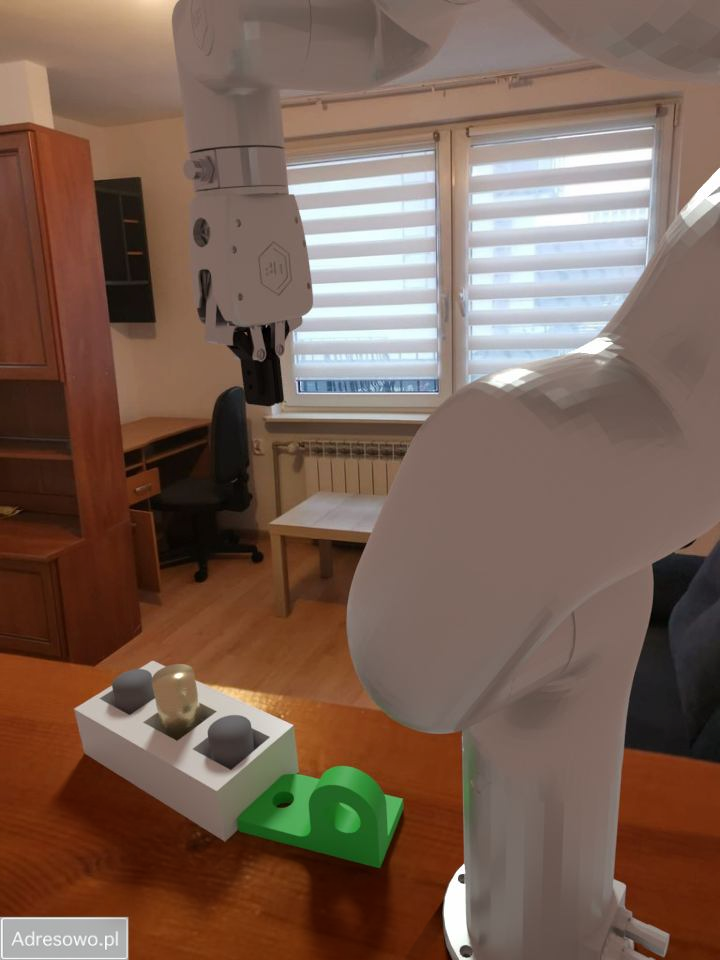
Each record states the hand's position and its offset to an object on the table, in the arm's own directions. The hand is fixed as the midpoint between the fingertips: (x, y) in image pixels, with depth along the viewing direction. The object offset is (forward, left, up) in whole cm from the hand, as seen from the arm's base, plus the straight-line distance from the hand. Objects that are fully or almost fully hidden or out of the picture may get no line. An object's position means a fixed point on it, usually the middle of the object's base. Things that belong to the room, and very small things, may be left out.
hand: (264, 402), depth 63 cm
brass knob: (+3, +12, -28) cm, 31 cm away
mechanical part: (-12, +11, -32) cm, 36 cm away
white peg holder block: (+3, +12, -32) cm, 35 cm away
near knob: (-4, +12, -31) cm, 33 cm away
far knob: (+9, +12, -31) cm, 34 cm away
